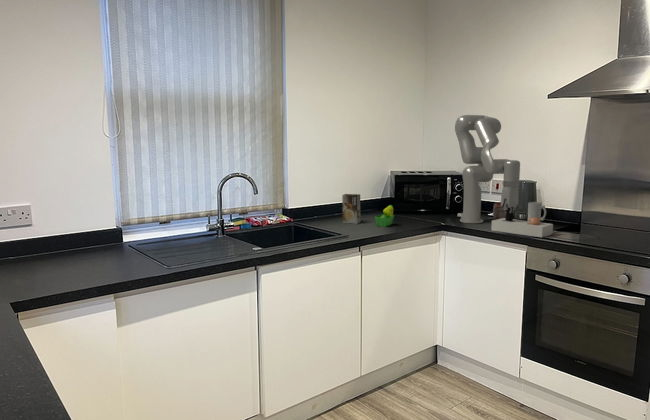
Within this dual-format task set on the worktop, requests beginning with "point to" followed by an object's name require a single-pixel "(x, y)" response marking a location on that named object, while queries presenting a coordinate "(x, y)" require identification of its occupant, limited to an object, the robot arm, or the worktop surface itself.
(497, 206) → the food item
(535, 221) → the terracotta button
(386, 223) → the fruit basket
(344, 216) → the coffee box
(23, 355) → the worktop surface
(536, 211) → the mug
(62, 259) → the worktop surface
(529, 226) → the button panel
